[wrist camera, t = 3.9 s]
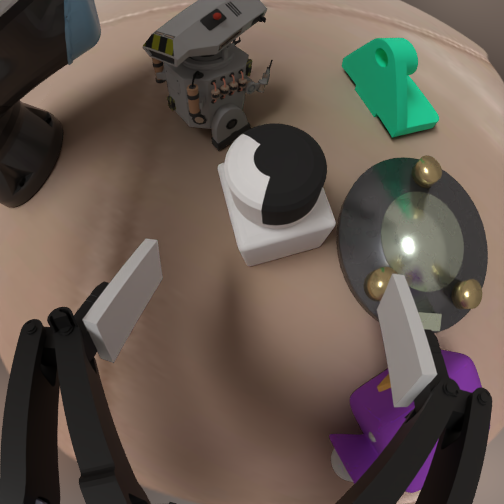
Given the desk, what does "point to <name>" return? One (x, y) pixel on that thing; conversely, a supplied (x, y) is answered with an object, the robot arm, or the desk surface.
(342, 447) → the toy camera
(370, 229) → the plate
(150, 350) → the desk surface
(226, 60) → the figurine
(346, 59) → the camera mount
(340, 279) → the desk surface
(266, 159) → the medicine bottle
